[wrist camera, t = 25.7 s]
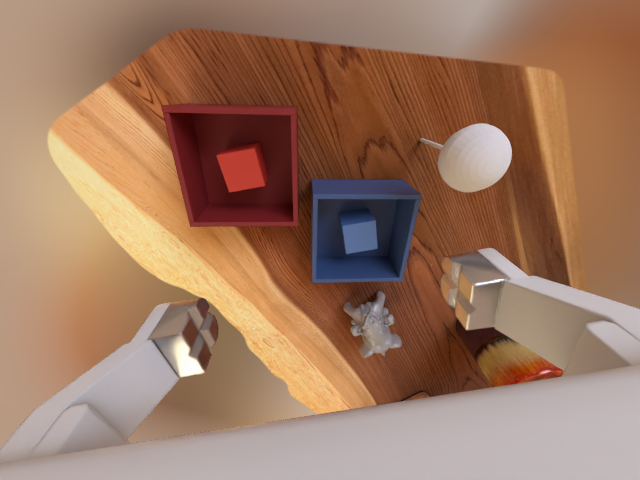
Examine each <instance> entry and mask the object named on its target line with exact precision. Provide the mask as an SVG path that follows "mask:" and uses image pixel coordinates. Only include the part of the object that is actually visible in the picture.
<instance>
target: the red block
mask: <svg viewBox="0 0 640 480" xmlns="http://www.w3.org/2000/svg"><path fill="white" fill-rule="evenodd" d="M216 156H217V159H218V162H219V165H220V168H221V171H222V173H223V176H224V179H225V182H226V185H227V188H228V190H229V192H235V191H241V190H246V189H252V188H257V187H263V186H265V185H266V183H267V180H268V178H269V173H268V169H267V165H266V162H265V158H264V154H263V150H262V147H261V143H260V142H256V143H251V144H246V145H240V146H235V147H230V148H226V149H225V150H223V151H222V152H220V153H219V154H217V155H216Z"/></svg>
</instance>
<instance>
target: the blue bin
mask: <svg viewBox="0 0 640 480" xmlns="http://www.w3.org/2000/svg"><path fill="white" fill-rule="evenodd" d="M420 199H421V194H420V193H419V192H417V191H416V190H415V189H414V188H413V187H412V186H410V185H409V184H408V183H407V182H406V181H404V180H372V179H311V273H312V283H331V282H391V281H402V280H403V276H404V271H405V267H406V262H407V258H408V253H409V249H410V244H411V240H412V235H413V231H414V226H415V222H416V217H417V213H418V208H419V204H420ZM364 208H369V210H370V212H371V213H372V215H373V217H374V219H375V220H376V233H377V247H378V249H373V250H367V251H361V252H356V253H350V254H346V252H345V248H344V244H343V240H342V235H341V228H340V221H339V214H338V213H341V212H347V211H353V210H358V209H364Z"/></svg>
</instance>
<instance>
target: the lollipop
mask: <svg viewBox="0 0 640 480" xmlns="http://www.w3.org/2000/svg"><path fill="white" fill-rule="evenodd" d="M420 142H423V143H425V144H428V145H430V146H433V147H435V148H438V149H441V151H440V154H439V159H438V168H439V172H440V174H441V176H442V178H443V179H444V181H445V182H446V183H447V184H448V185H449V186H450V187H452V188H454V189H456V190H458V191H462V192H475V191H478V190H482V189H485V188H487V187H489V186H491V185H493V184H494V183H496V182H497V181H498V180H499V179H500V178H501V177H502V176H503V175H504V174H505V172H506V171H507V169H508V167H509V164H510V161H511V157H512V149H511V145H510V142H509V140H508V138H507V137H506V136H505V134H504V133H503V132H502V131H501V130H500V129H498V128H496V127H494V126H492V125H488V124H474V125H471V126H468V127H466V128H464V129H461V130H459V131H458V132H456V133H454V134H453V135H452V136H451V137H450V138H449V139H448V140H447V141H446V143H445V144H444V145H440V144H437V143H434V142H432V141H429V140H426V139H423V138H420Z"/></svg>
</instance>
